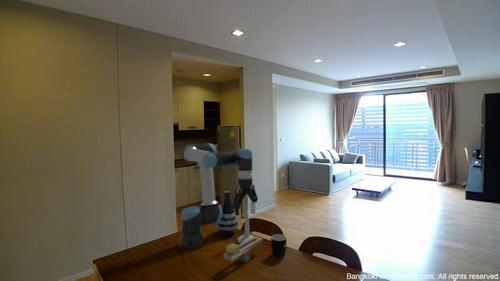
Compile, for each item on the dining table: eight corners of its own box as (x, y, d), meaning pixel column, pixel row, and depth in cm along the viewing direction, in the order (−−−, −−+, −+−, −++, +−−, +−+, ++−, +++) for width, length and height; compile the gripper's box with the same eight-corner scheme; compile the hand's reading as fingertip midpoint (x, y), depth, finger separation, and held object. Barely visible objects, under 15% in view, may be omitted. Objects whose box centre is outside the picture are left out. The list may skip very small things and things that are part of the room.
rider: (225, 255, 137) (225, 246, 137) (232, 251, 141) (231, 243, 140) (233, 258, 133) (233, 249, 133) (240, 254, 137) (239, 245, 137)
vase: (243, 232, 185) (242, 191, 184) (226, 239, 173) (226, 195, 172) (228, 227, 196) (227, 188, 195) (211, 233, 184) (211, 192, 183)
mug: (285, 259, 145) (285, 241, 145) (269, 257, 147) (269, 239, 147) (288, 249, 156) (287, 233, 156) (273, 248, 159) (273, 231, 158)
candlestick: (256, 244, 165) (256, 197, 164) (236, 244, 165) (236, 197, 164) (256, 236, 178) (256, 192, 177) (238, 236, 178) (237, 193, 177)
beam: (223, 268, 135) (222, 253, 135) (254, 249, 158) (254, 236, 158) (231, 272, 132) (231, 257, 131) (262, 251, 154) (262, 238, 154)
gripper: (236, 182, 125) (237, 225, 126) (263, 175, 146) (263, 212, 146) (224, 181, 129) (225, 222, 130) (252, 173, 150) (252, 210, 151)
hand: (245, 217), depth 138 cm, fingers open, 13 cm apart
